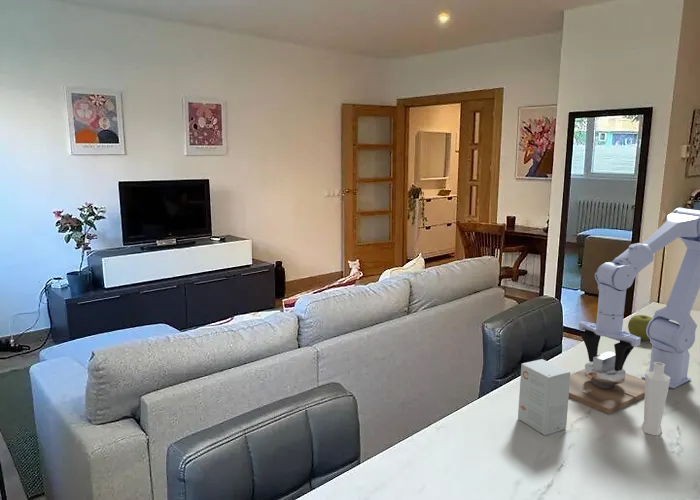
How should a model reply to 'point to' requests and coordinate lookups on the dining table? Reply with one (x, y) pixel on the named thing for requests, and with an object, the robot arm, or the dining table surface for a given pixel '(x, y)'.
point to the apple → (639, 326)
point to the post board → (606, 392)
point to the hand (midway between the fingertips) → (605, 365)
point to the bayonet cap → (604, 369)
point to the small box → (544, 396)
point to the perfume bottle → (655, 398)
